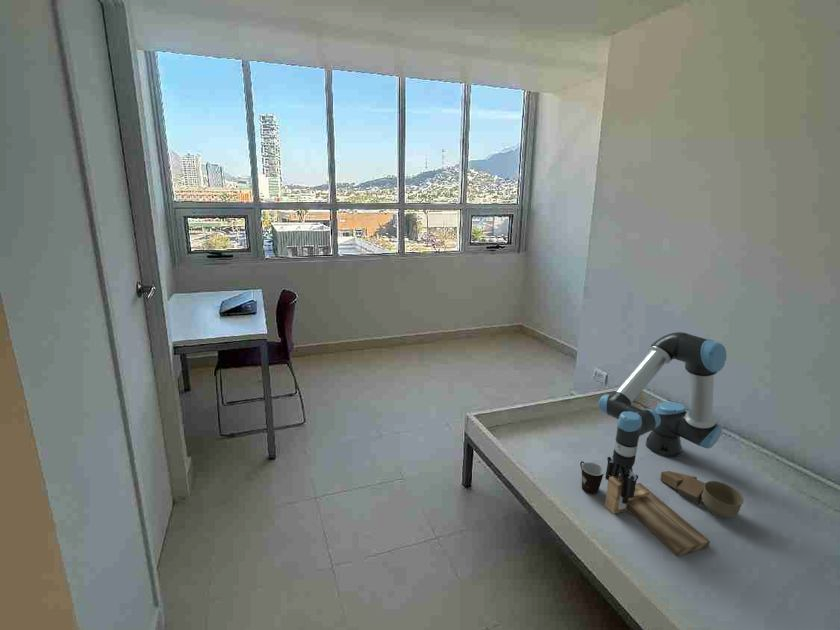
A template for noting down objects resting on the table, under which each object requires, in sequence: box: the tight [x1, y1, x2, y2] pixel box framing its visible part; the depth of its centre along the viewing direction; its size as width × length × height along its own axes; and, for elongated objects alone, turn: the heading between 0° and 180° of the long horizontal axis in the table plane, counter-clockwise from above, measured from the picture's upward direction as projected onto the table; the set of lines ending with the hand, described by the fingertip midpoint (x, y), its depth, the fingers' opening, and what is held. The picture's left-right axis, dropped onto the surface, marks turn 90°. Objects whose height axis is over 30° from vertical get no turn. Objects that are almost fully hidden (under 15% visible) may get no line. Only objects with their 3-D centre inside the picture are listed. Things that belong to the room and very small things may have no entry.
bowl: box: [701, 480, 745, 518], centre depth 165 cm, size 13×13×10 cm
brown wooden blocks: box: [659, 470, 706, 505], centre depth 179 cm, size 8×13×18 cm
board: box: [626, 482, 711, 557], centre depth 163 cm, size 14×32×2 cm, turn 17°
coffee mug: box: [579, 460, 605, 495], centre depth 179 cm, size 12×9×10 cm
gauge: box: [604, 474, 649, 515], centre depth 168 cm, size 18×5×14 cm, turn 107°
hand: (616, 503), depth 168 cm, fingers closed on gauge, 5 cm apart
